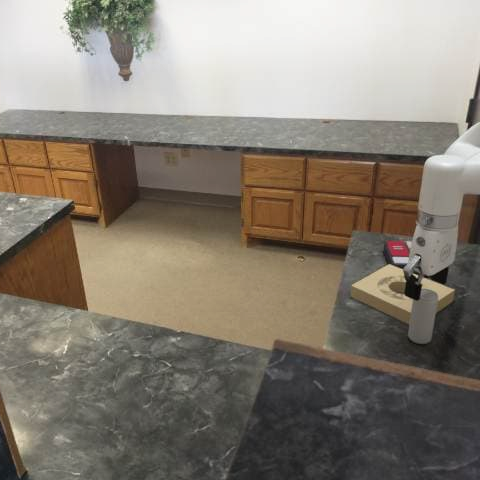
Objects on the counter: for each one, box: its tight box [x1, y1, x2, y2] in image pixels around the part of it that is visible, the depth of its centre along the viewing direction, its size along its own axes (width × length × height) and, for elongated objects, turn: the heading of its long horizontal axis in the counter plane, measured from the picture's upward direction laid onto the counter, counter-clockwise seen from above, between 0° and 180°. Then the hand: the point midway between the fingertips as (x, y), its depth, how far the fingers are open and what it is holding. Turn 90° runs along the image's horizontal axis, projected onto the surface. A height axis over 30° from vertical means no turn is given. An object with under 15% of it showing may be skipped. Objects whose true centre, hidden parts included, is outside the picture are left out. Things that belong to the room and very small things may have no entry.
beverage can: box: [407, 289, 438, 345], centre depth 113 cm, size 5×5×12 cm
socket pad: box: [349, 264, 456, 325], centre depth 129 cm, size 18×16×4 cm
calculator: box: [383, 240, 431, 278], centre depth 144 cm, size 11×4×15 cm
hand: (425, 289), depth 110 cm, fingers open, 9 cm apart
